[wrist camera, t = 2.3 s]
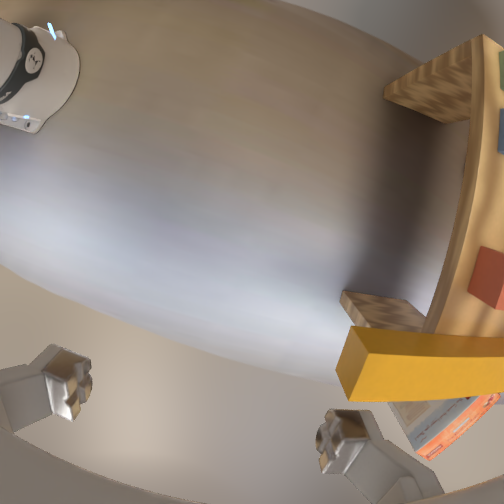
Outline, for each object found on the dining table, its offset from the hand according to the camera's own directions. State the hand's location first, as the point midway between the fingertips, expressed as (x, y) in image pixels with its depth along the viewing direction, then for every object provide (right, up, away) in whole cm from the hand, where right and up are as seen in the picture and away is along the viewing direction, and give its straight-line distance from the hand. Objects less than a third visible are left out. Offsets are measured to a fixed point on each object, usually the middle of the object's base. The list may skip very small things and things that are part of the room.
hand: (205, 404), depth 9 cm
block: (+23, +3, +12) cm, 27 cm away
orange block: (+18, -4, +13) cm, 23 cm away
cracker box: (+29, -13, +41) cm, 52 cm away
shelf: (+24, +12, +34) cm, 44 cm away
